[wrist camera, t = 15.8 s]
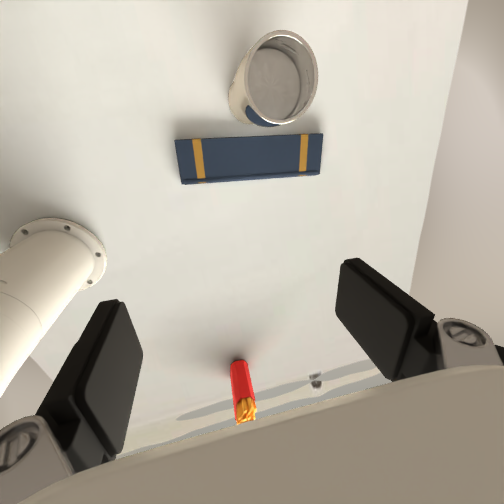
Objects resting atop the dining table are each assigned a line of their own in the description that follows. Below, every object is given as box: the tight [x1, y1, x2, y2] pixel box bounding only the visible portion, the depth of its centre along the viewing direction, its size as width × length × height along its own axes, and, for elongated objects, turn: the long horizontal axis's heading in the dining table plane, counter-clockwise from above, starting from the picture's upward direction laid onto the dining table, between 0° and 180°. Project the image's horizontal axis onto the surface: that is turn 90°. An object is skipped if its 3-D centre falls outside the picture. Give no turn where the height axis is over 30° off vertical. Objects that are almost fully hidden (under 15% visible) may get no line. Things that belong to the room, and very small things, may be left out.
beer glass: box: [228, 30, 318, 127], centre depth 27 cm, size 7×7×15 cm
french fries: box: [230, 360, 256, 424], centre depth 52 cm, size 9×4×13 cm, turn 177°
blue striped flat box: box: [174, 133, 323, 185], centre depth 36 cm, size 22×6×1 cm, turn 92°
